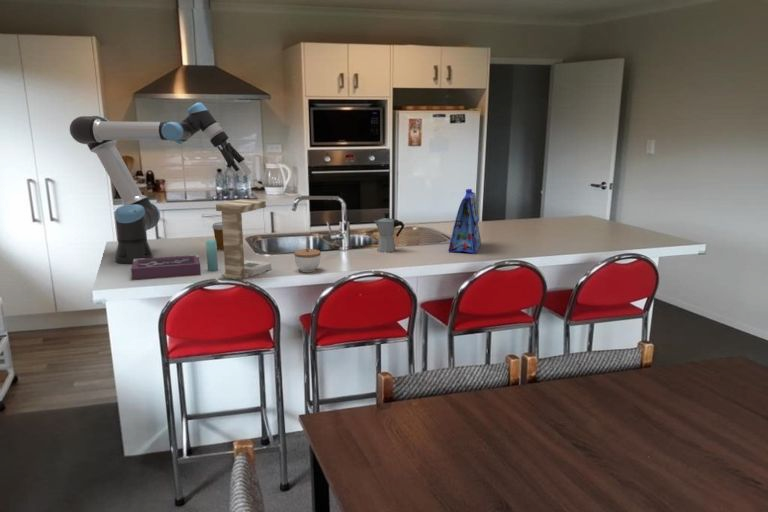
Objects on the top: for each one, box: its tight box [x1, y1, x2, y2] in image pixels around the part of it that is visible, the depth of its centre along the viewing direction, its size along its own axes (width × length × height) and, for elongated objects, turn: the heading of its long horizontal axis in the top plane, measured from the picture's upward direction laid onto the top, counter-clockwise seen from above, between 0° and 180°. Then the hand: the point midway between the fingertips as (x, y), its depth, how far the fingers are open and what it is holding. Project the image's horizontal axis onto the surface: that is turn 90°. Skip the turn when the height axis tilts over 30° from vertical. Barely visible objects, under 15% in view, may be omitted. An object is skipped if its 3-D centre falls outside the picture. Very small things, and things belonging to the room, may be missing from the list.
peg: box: [205, 239, 219, 272], centre depth 236 cm, size 4×4×12 cm
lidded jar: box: [293, 247, 322, 273], centre depth 236 cm, size 11×11×9 cm
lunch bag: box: [448, 188, 482, 255], centre depth 275 cm, size 22×14×29 cm, turn 164°
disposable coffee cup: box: [211, 221, 224, 251], centre depth 274 cm, size 10×10×12 cm
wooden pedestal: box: [215, 198, 267, 280], centre depth 229 cm, size 16×12×28 cm
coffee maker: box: [373, 212, 405, 254], centre depth 271 cm, size 15×9×18 cm, turn 73°
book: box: [130, 254, 201, 281], centre depth 233 cm, size 25×16×5 cm, turn 109°
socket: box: [244, 259, 272, 277], centre depth 236 cm, size 12×12×2 cm
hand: (246, 175), depth 258 cm, fingers open, 13 cm apart
